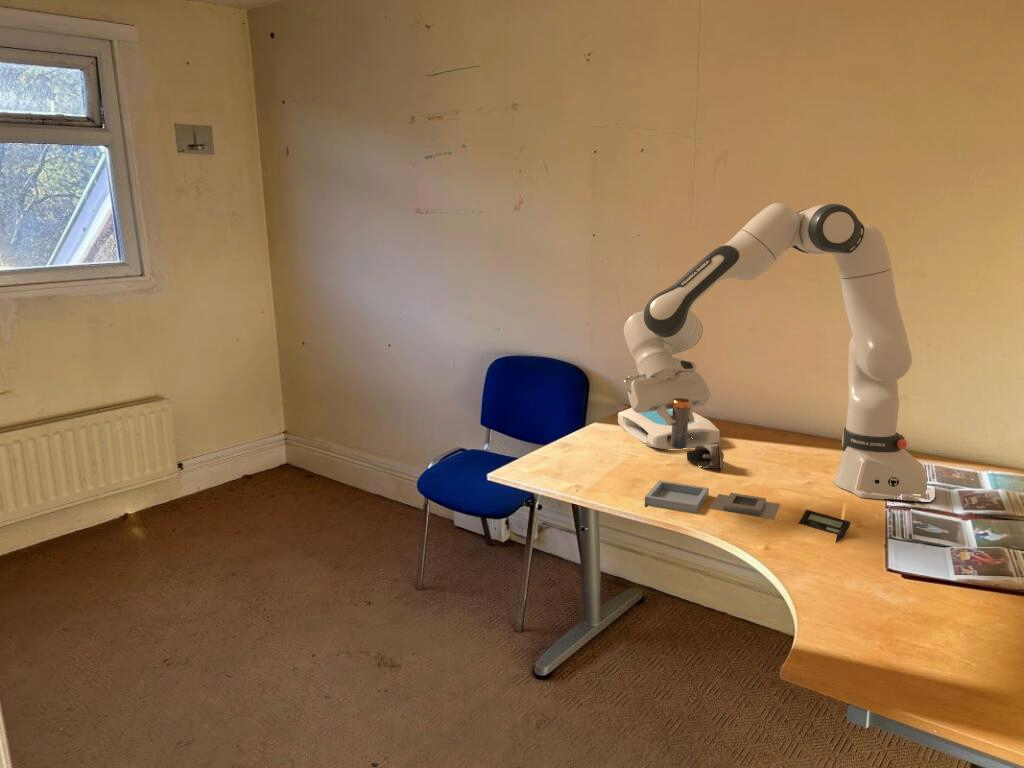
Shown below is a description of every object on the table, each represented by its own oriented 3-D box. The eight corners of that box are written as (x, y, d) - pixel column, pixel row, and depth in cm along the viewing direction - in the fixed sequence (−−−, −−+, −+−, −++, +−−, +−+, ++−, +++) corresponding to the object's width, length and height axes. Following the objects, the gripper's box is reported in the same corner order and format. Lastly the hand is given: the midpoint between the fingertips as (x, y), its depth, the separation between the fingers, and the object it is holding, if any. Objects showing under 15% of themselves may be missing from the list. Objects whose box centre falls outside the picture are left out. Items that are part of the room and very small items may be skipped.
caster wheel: (690, 466, 206) (727, 465, 203) (684, 471, 196) (723, 469, 192) (688, 442, 207) (725, 440, 203) (682, 445, 196) (721, 443, 193)
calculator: (782, 537, 155) (783, 524, 155) (806, 521, 163) (807, 509, 163) (826, 551, 149) (827, 537, 148) (849, 534, 157) (850, 521, 156)
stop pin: (688, 445, 172) (691, 399, 169) (684, 449, 169) (687, 402, 166) (673, 442, 173) (675, 397, 171) (668, 447, 170) (671, 401, 168)
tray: (708, 497, 177) (708, 487, 176) (696, 515, 166) (696, 505, 166) (659, 489, 182) (659, 480, 181) (644, 506, 172) (644, 496, 171)
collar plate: (779, 506, 171) (780, 498, 171) (773, 521, 163) (774, 514, 162) (718, 496, 177) (718, 489, 177) (709, 511, 169) (709, 503, 168)
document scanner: (654, 452, 211) (654, 431, 210) (616, 426, 238) (617, 407, 236) (720, 446, 216) (721, 426, 215) (676, 421, 243) (677, 403, 241)
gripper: (626, 369, 169) (648, 421, 163) (700, 362, 177) (724, 411, 171) (616, 384, 174) (637, 435, 168) (688, 376, 182) (710, 425, 176)
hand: (681, 423), depth 169 cm, fingers closed on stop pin, 4 cm apart
